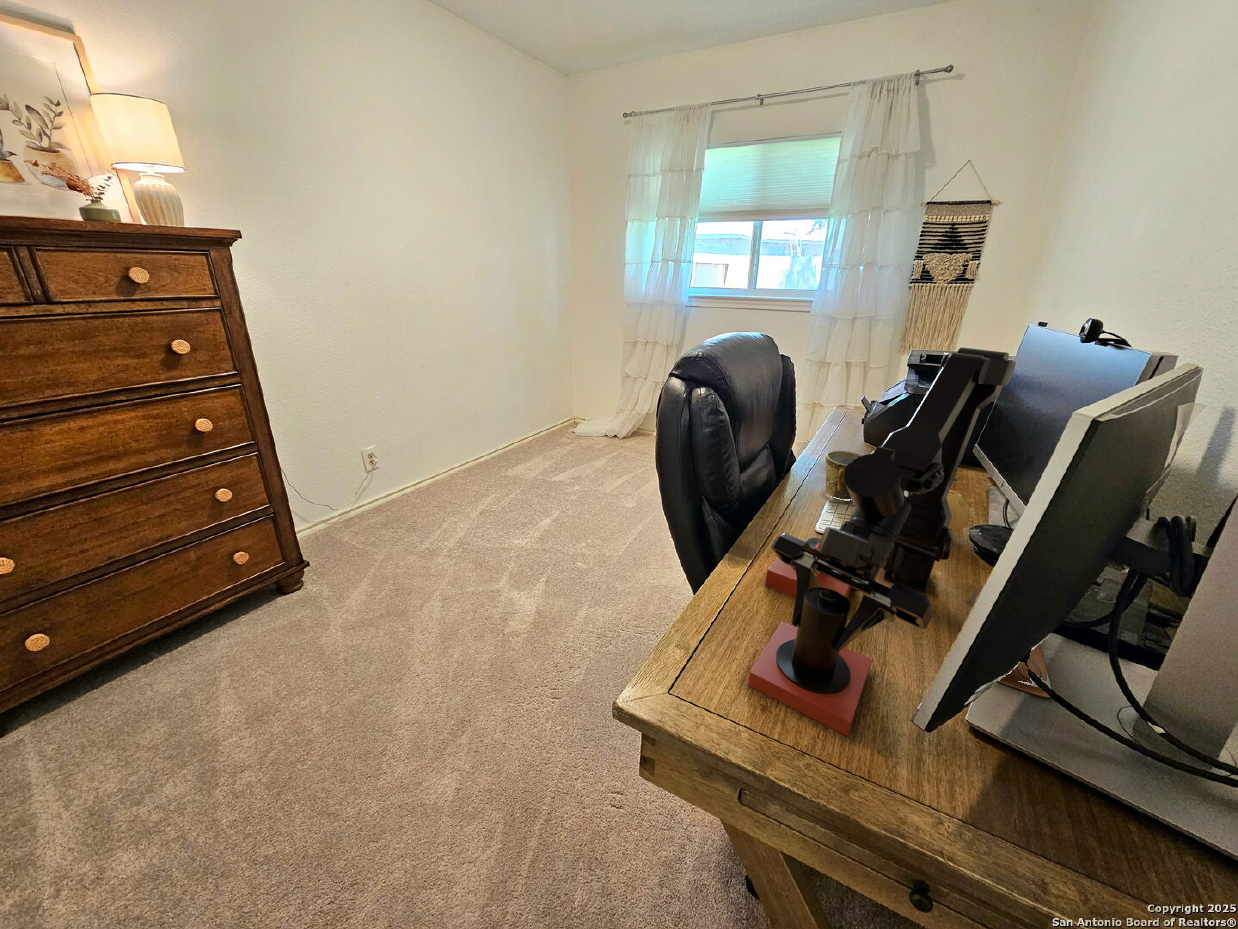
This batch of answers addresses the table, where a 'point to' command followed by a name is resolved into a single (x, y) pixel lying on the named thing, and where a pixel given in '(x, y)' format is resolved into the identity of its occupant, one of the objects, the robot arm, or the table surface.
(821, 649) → the black battery
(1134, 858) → the table surface
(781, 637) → the hot plate
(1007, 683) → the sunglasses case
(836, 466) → the ceramic cup
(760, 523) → the table surface
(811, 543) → the hob knob
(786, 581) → the control panel
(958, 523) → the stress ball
